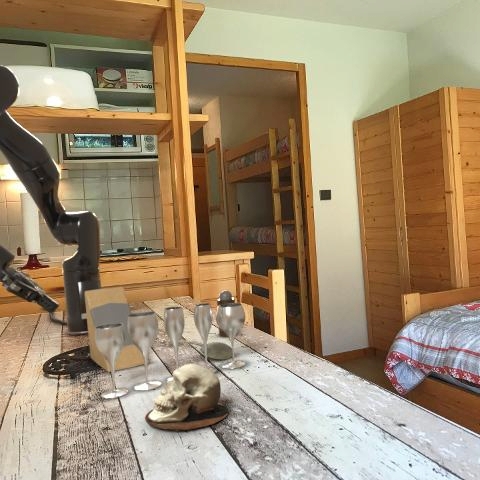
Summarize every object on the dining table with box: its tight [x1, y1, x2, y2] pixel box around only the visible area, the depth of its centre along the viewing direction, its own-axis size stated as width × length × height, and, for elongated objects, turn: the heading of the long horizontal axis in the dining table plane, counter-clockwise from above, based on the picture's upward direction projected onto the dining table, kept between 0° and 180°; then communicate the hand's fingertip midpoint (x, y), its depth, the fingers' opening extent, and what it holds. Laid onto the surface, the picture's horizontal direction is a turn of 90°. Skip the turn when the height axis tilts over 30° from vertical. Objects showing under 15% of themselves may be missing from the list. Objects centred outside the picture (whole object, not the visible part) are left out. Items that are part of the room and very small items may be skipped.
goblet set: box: [95, 302, 247, 400], centre depth 96 cm, size 28×6×13 cm, turn 126°
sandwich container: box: [85, 286, 150, 373], centre depth 111 cm, size 9×15×15 cm, turn 37°
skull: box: [144, 363, 229, 432], centre depth 77 cm, size 12×10×10 cm
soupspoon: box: [169, 339, 232, 360], centre depth 115 cm, size 22×3×7 cm
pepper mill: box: [216, 289, 236, 338], centre depth 129 cm, size 4×4×11 cm
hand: (56, 309), depth 106 cm, fingers closed
